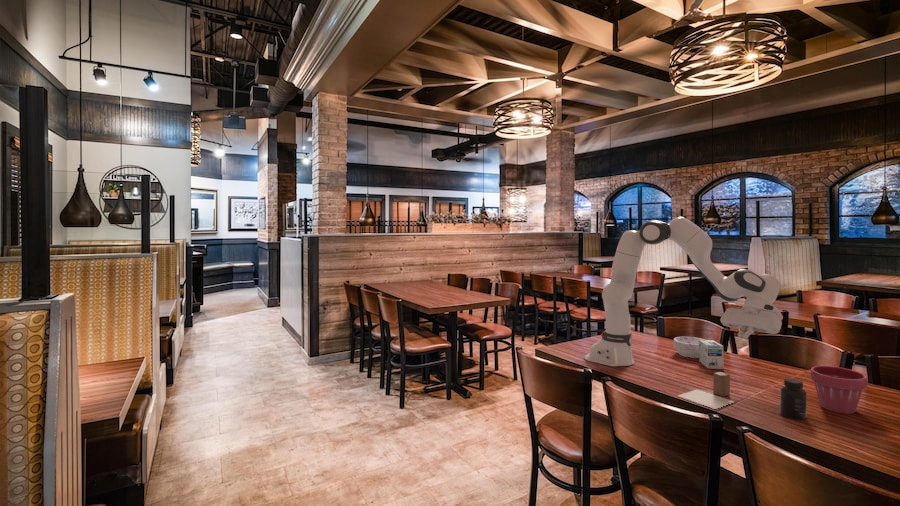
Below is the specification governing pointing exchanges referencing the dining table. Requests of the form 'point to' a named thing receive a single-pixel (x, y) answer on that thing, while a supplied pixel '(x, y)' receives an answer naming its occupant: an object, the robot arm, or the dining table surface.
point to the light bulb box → (711, 354)
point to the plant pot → (838, 388)
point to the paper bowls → (687, 346)
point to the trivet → (705, 399)
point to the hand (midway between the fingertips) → (742, 337)
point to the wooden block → (721, 384)
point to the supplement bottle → (793, 399)
